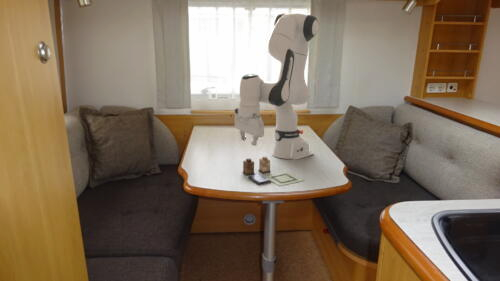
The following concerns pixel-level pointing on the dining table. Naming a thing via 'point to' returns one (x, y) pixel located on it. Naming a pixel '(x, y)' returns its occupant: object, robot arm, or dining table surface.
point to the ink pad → (259, 179)
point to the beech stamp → (264, 165)
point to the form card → (284, 178)
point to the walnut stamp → (248, 167)
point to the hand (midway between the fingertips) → (248, 142)
